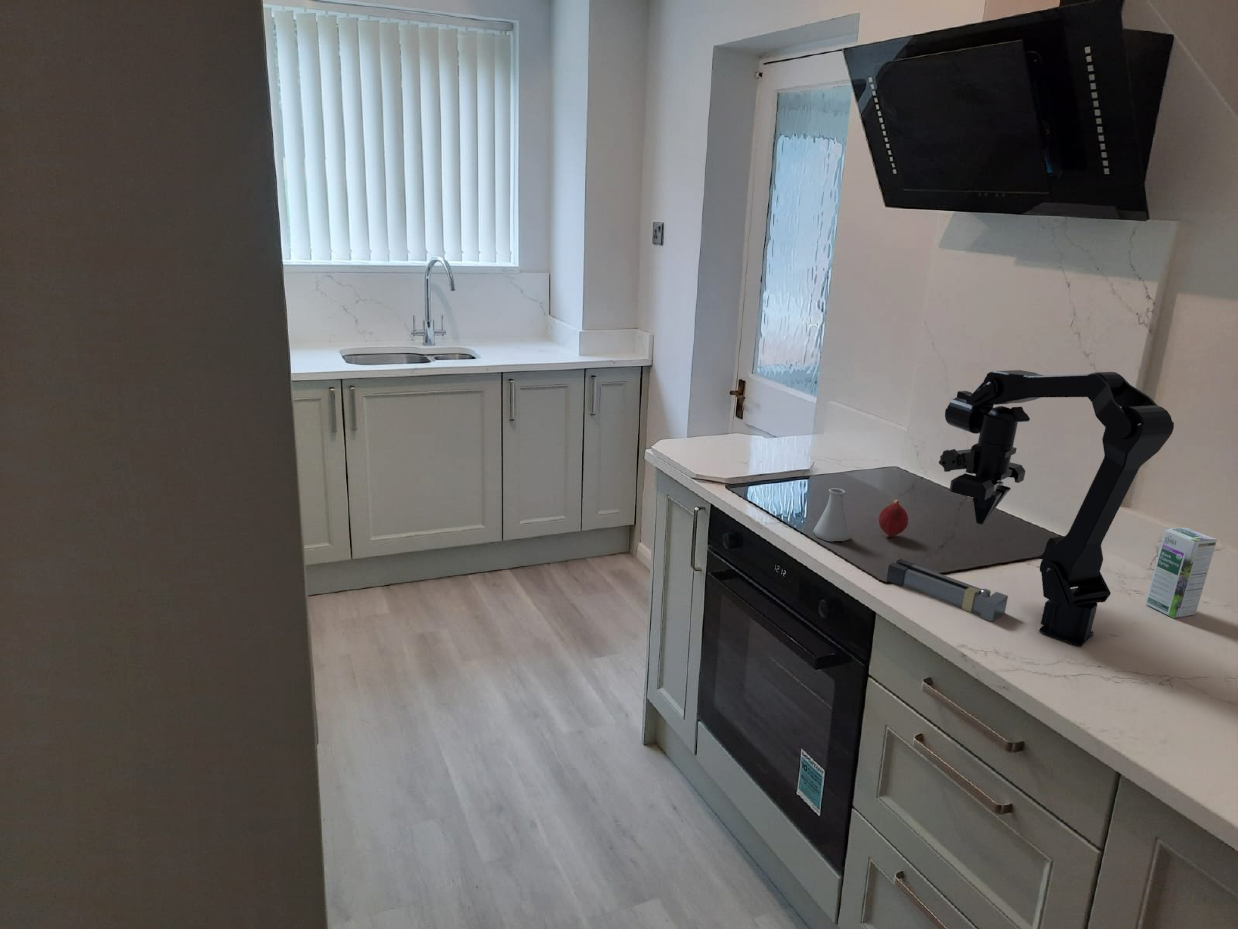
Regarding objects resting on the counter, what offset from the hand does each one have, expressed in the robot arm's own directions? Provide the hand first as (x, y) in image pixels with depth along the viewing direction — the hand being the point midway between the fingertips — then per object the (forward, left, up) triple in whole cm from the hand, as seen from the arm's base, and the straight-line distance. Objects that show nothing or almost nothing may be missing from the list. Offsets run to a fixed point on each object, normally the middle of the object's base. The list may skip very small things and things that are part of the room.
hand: (980, 523), depth 154 cm
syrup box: (-29, -17, -11) cm, 35 cm away
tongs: (0, +11, -11) cm, 16 cm away
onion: (+20, -8, -11) cm, 25 cm away
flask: (+28, +2, -12) cm, 31 cm away
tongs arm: (+1, +10, -11) cm, 15 cm away
